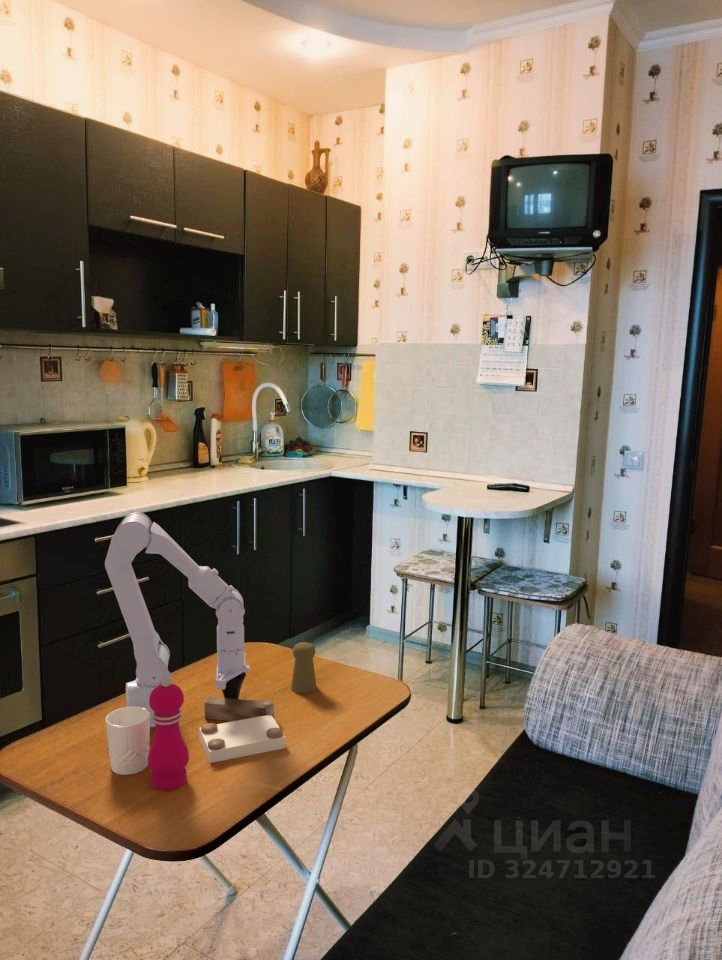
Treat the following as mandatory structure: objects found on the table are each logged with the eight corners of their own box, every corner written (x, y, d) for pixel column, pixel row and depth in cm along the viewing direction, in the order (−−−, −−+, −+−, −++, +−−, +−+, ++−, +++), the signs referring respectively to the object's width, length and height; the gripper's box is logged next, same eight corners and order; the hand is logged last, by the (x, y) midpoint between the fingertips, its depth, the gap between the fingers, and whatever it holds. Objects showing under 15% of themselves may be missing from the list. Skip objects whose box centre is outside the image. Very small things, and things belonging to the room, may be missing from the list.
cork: (315, 695, 170) (316, 649, 169) (289, 694, 171) (289, 649, 169) (317, 683, 176) (318, 639, 175) (292, 683, 176) (292, 639, 175)
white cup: (156, 770, 139) (154, 720, 137) (112, 781, 135) (110, 730, 133) (145, 750, 146) (144, 702, 144) (104, 761, 142) (101, 712, 140)
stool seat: (209, 763, 141) (209, 748, 141) (199, 739, 150) (199, 724, 150) (285, 748, 147) (285, 734, 146) (271, 725, 156) (271, 711, 156)
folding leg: (275, 717, 159) (275, 700, 159) (272, 724, 156) (271, 707, 156) (209, 711, 161) (209, 695, 161) (205, 718, 158) (204, 701, 158)
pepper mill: (196, 773, 138) (194, 671, 135) (176, 795, 131) (173, 688, 128) (161, 767, 140) (158, 666, 136) (140, 788, 133) (136, 683, 130)
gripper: (237, 661, 151) (239, 724, 154) (258, 635, 166) (259, 693, 168) (204, 659, 152) (206, 721, 155) (228, 633, 167) (229, 690, 169)
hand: (231, 706), depth 161 cm, fingers closed
